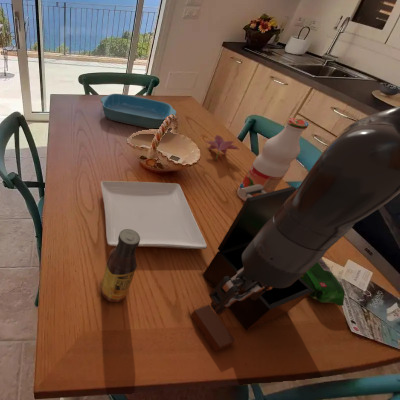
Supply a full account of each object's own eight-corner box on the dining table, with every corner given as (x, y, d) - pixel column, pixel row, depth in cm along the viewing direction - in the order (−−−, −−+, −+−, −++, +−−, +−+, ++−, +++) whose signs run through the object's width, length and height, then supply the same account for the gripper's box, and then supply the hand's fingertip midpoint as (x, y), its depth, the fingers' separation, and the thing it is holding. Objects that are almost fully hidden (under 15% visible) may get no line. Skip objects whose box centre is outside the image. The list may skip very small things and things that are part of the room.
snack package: (303, 255, 75) (315, 243, 71) (340, 309, 63) (356, 298, 60) (277, 253, 75) (288, 241, 72) (310, 307, 63) (324, 296, 60)
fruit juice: (266, 209, 88) (321, 132, 70) (235, 200, 91) (281, 124, 72) (264, 193, 95) (315, 118, 76) (236, 185, 98) (278, 111, 79)
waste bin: (287, 312, 62) (314, 290, 56) (246, 330, 59) (269, 309, 52) (240, 261, 72) (258, 238, 66) (202, 274, 69) (217, 251, 62)
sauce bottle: (112, 309, 61) (127, 256, 47) (95, 288, 64) (104, 234, 51) (132, 293, 64) (152, 240, 50) (115, 274, 67) (129, 220, 54)
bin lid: (296, 188, 55) (274, 173, 59) (250, 200, 51) (229, 184, 55) (260, 238, 65) (243, 223, 69) (219, 251, 61) (203, 234, 65)
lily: (237, 164, 110) (244, 140, 108) (224, 161, 102) (232, 136, 100) (208, 159, 119) (215, 137, 116) (195, 156, 111) (202, 133, 109)
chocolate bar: (230, 345, 56) (235, 340, 54) (215, 351, 55) (219, 347, 53) (204, 309, 62) (208, 304, 60) (190, 315, 60) (194, 310, 59)
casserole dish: (173, 116, 139) (178, 102, 134) (170, 135, 123) (174, 121, 118) (105, 103, 146) (107, 90, 142) (93, 120, 130) (95, 106, 126)
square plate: (106, 253, 72) (107, 244, 69) (99, 188, 92) (100, 179, 90) (204, 255, 73) (209, 246, 70) (176, 190, 93) (179, 182, 91)
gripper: (268, 286, 35) (217, 335, 45) (340, 257, 39) (277, 309, 50) (226, 242, 40) (189, 295, 51) (294, 221, 44) (246, 275, 55)
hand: (233, 302), depth 50 cm, fingers open, 8 cm apart
